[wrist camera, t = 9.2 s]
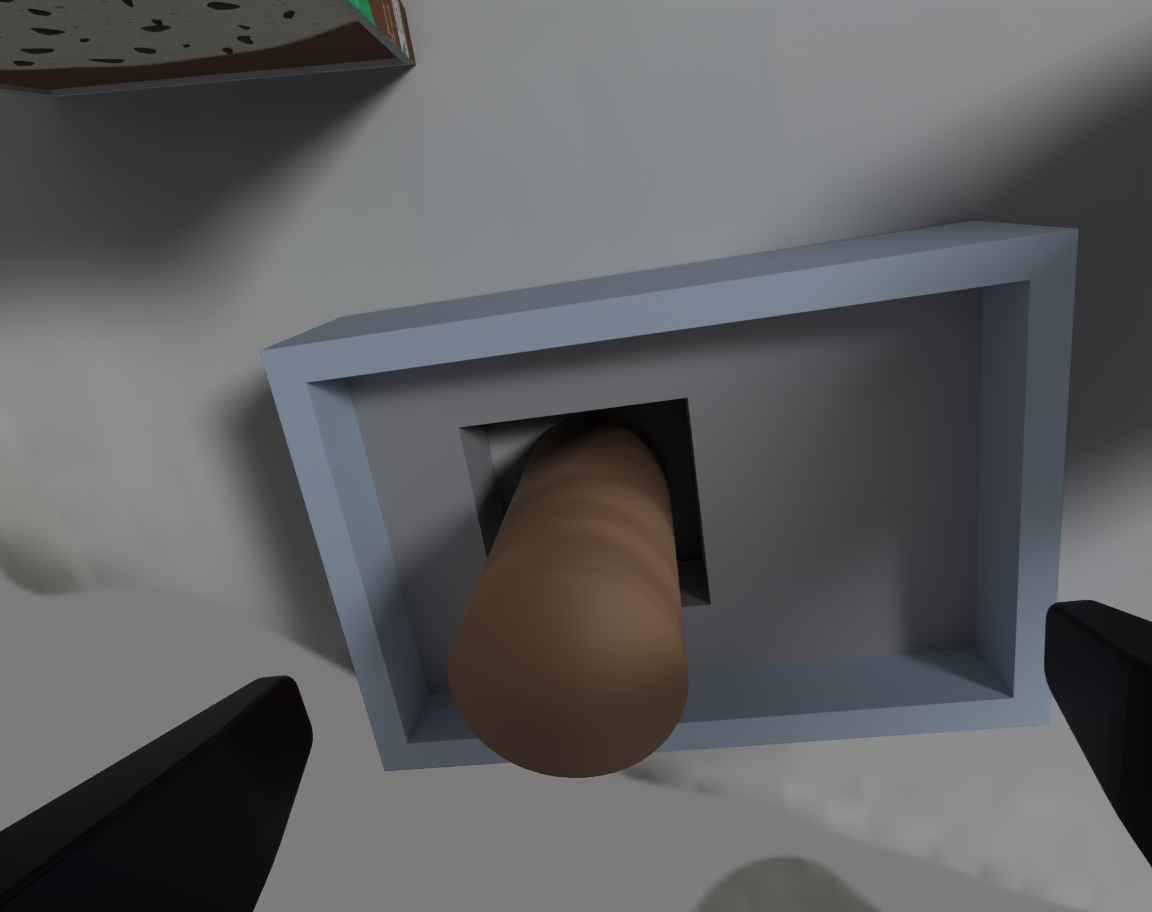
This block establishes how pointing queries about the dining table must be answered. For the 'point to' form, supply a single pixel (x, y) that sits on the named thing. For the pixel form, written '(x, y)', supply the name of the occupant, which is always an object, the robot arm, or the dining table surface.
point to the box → (727, 476)
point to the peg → (578, 609)
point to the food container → (191, 42)
